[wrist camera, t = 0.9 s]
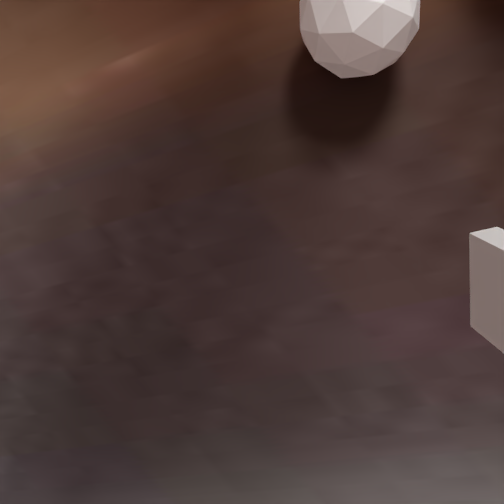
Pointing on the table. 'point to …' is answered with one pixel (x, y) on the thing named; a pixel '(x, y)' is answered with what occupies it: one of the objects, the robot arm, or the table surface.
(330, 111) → the table surface
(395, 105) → the table surface
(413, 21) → the geometric ball
